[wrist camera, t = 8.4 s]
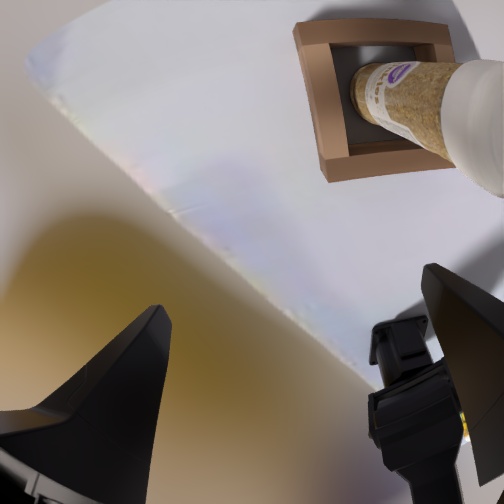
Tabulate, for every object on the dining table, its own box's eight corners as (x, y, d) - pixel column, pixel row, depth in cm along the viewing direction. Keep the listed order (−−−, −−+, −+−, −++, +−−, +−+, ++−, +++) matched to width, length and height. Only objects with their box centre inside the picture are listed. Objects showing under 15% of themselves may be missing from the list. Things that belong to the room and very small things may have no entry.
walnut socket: (441, 155, 18) (462, 167, 16) (320, 169, 20) (328, 182, 17) (426, 29, 13) (447, 25, 11) (292, 31, 15) (296, 22, 12)
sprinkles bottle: (364, 51, 15) (504, 31, 4) (416, 87, 16) (567, 127, 4) (336, 104, 17) (449, 152, 6) (389, 137, 18) (519, 226, 7)
